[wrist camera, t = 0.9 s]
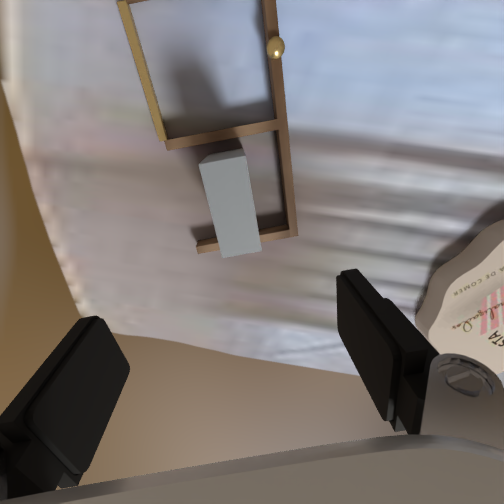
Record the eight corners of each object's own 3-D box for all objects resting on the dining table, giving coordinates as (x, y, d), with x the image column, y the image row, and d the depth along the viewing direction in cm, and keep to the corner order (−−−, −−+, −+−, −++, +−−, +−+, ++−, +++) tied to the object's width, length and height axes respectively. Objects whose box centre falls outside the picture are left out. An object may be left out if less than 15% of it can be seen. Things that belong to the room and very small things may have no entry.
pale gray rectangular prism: (242, 147, 29) (245, 155, 21) (255, 220, 33) (261, 250, 25) (207, 154, 29) (196, 164, 21) (224, 226, 33) (220, 258, 25)
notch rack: (271, -41, 22) (275, -61, 20) (297, 229, 34) (301, 237, 32) (116, -9, 23) (102, -25, 20) (194, 248, 34) (191, 257, 32)
